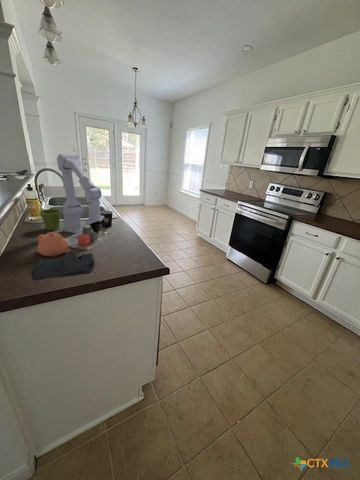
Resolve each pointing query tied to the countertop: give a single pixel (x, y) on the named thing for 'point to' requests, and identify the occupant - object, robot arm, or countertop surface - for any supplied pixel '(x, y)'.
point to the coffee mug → (106, 218)
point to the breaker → (86, 229)
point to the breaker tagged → (93, 235)
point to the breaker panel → (101, 237)
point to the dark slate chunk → (64, 266)
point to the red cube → (84, 239)
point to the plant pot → (50, 218)
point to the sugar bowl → (51, 244)
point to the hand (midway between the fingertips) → (96, 234)
